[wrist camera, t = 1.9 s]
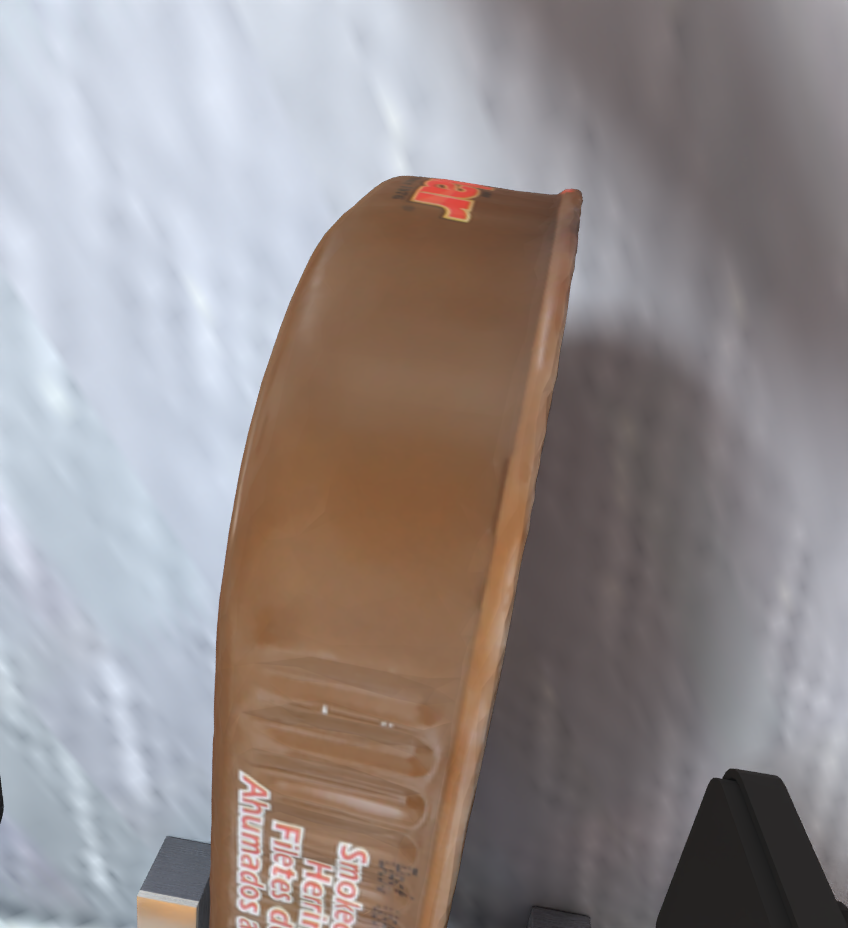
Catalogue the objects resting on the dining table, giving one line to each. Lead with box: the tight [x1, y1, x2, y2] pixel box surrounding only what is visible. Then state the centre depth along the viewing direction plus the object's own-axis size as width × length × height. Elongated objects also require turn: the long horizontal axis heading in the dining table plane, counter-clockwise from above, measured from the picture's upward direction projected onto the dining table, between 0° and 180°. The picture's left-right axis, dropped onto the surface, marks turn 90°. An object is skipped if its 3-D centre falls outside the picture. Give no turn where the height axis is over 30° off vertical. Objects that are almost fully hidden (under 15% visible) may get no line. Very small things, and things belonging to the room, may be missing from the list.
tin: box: [209, 176, 583, 928], centre depth 12 cm, size 15×3×8 cm, turn 172°
